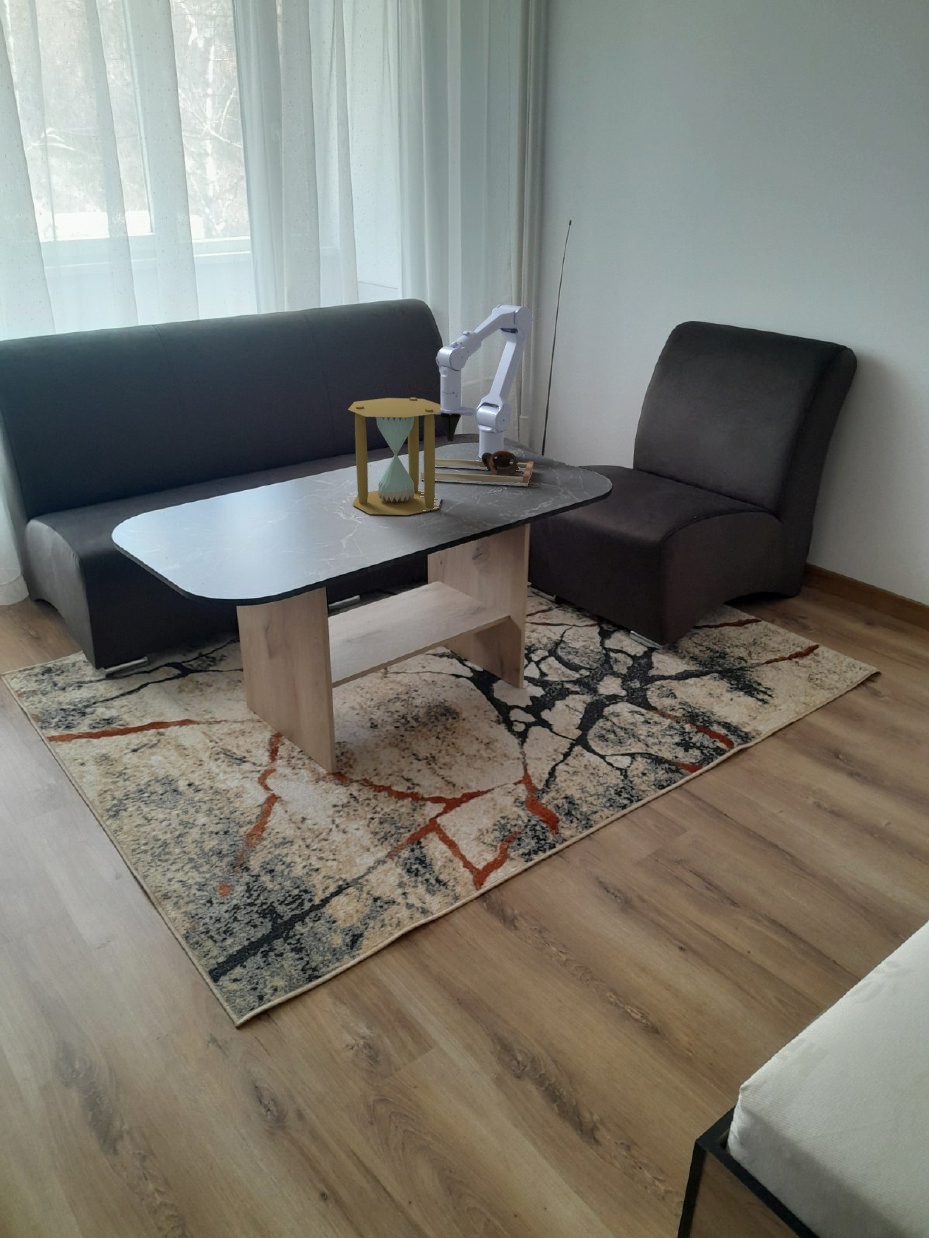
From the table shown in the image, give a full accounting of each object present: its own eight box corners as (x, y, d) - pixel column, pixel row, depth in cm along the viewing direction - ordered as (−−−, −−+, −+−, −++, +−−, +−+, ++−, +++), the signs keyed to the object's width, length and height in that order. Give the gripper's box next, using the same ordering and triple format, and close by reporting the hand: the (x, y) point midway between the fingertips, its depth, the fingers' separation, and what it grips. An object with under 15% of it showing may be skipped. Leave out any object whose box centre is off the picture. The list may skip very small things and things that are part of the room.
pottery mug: (524, 475, 266) (525, 454, 259) (507, 496, 261) (507, 476, 255) (488, 459, 270) (488, 438, 263) (470, 479, 265) (470, 459, 258)
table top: (431, 466, 271) (431, 456, 270) (533, 472, 267) (533, 461, 266) (420, 481, 258) (420, 470, 256) (527, 487, 254) (528, 476, 252)
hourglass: (432, 487, 253) (432, 393, 242) (453, 513, 233) (453, 412, 223) (345, 493, 247) (341, 397, 237) (358, 520, 227) (354, 417, 217)
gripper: (422, 393, 257) (422, 442, 262) (474, 396, 255) (474, 445, 260) (427, 388, 263) (427, 436, 269) (478, 390, 261) (477, 439, 267)
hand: (450, 440), depth 265 cm, fingers closed
